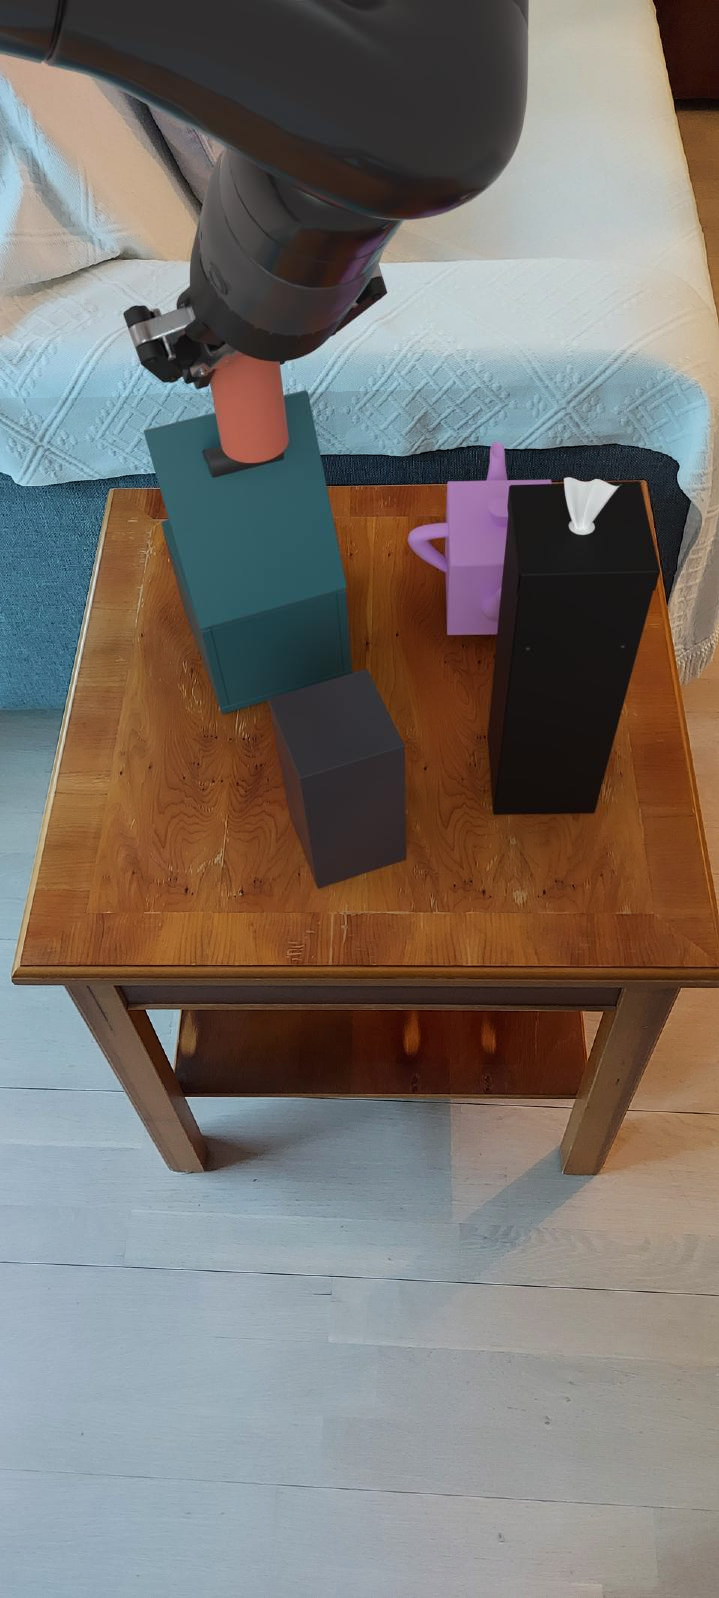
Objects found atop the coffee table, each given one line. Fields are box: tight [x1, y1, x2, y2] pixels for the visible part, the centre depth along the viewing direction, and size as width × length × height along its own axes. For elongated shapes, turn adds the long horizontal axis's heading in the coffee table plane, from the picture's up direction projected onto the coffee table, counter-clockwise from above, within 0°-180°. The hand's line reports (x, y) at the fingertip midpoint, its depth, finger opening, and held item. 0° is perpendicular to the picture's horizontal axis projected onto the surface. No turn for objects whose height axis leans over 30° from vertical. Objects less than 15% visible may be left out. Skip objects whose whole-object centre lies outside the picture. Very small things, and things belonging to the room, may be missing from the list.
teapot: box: [407, 441, 553, 636], centre depth 85 cm, size 15×13×11 cm
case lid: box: [143, 389, 348, 629], centre depth 70 cm, size 14×12×5 cm
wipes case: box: [160, 519, 353, 715], centre depth 84 cm, size 14×12×10 cm
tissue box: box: [486, 476, 661, 816], centre depth 67 cm, size 8×8×28 cm
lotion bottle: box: [209, 354, 289, 463], centre depth 59 cm, size 4×4×8 cm
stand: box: [267, 668, 407, 890], centre depth 70 cm, size 7×7×14 cm
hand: (233, 359), depth 59 cm, fingers closed on lotion bottle, 4 cm apart
